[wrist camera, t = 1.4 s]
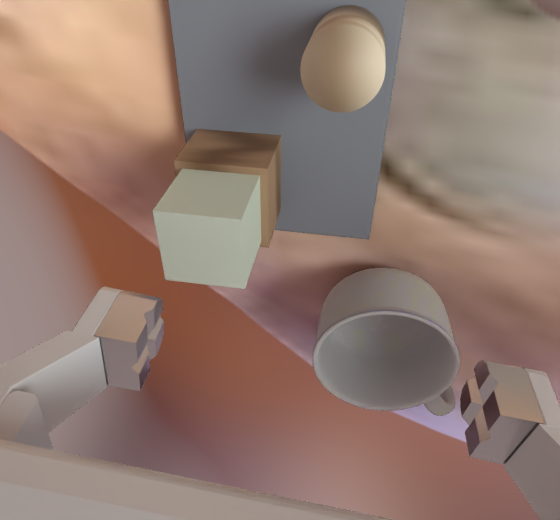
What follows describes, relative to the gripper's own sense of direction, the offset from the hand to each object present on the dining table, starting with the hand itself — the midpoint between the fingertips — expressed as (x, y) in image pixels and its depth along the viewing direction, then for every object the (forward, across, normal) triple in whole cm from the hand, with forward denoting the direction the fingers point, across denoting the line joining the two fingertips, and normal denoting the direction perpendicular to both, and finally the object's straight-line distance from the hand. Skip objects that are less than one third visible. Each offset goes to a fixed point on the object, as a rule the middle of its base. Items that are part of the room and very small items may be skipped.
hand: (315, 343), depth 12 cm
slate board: (+24, +4, +4) cm, 24 cm away
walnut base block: (+23, +6, +8) cm, 25 cm away
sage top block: (+18, +6, +8) cm, 20 cm away
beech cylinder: (+22, 0, -2) cm, 22 cm away
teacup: (+24, -8, +19) cm, 32 cm away
